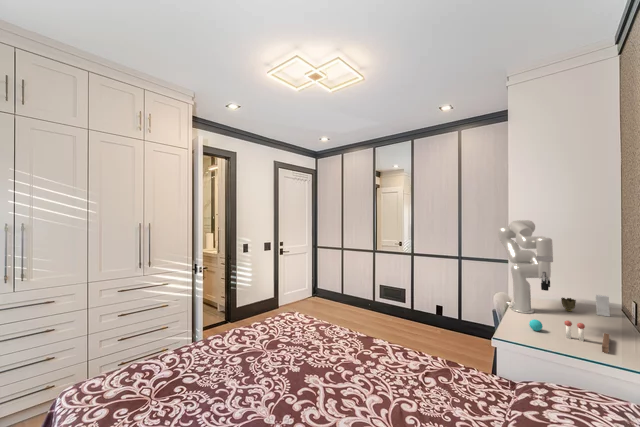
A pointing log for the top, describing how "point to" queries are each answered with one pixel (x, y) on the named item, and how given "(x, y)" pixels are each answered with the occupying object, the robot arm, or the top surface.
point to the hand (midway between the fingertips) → (545, 288)
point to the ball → (535, 325)
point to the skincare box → (602, 305)
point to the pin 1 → (568, 328)
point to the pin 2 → (581, 331)
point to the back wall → (605, 343)
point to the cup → (568, 304)
